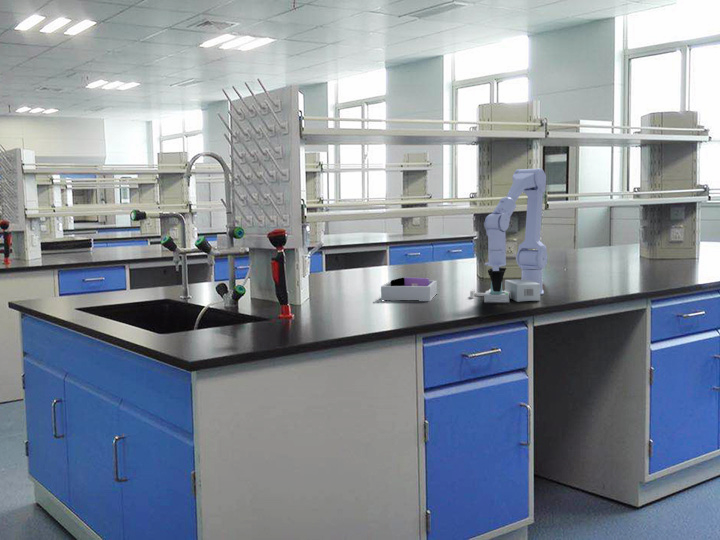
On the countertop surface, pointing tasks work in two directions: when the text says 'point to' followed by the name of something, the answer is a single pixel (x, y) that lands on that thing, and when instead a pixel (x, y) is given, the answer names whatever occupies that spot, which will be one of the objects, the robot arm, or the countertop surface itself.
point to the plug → (496, 292)
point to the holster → (472, 293)
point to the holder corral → (409, 292)
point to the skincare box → (523, 290)
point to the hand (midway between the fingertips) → (497, 290)
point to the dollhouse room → (410, 282)
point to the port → (497, 297)
